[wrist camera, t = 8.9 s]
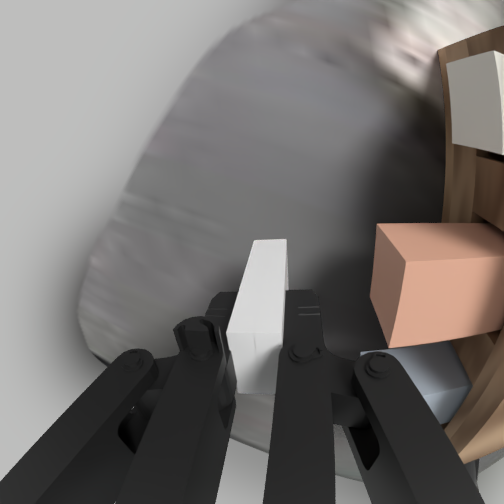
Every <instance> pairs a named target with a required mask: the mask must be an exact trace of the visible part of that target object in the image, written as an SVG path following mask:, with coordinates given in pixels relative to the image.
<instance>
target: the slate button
mask: <svg viewBox="0 0 504 504" xmlns="http://www.w3.org/2000/svg"><path fill="white" fill-rule="evenodd" d="M376 351H380V352H386V353H388V354H390V355H393V356H394V357H395V358H396V359H397V360H398V361H399V362H400V363H401V364H402V366H403V367H404V369H405V370H406V372H407V373H408V375H409V376H410V378H411V379H412V381H413V382H414V384H415V385H416V387H417V388H418V390H419V391H420V393H421V395H422V396H423V398H424V399H425V401H426V402H427V404H428V405H429V407H430V409H431V410H432V412H433V413H434V415H435V417H436V418H437V420H438V421H439V423H440V424H444V423H447V422H450V421H451V420H452V419H453V417H454V416H455V414H456V413H457V411H458V410H459V408H460V407H461V405H462V403H463V402H464V400H465V399H466V397H467V396H468V394H469V392H470V391H471V389H472V387H473V385H472V383H471V381H470V378H469V376H468V374H467V372H466V370H465V368H464V366H463V364H462V363H461V361H460V359H459V357H458V355H457V353H456V351H455V349H454V347H453V346H452V344H451V342H450V341H446V342H439V343H433V344H426V345H419V346H412V347H404V348H396V349H386V350H376ZM368 352H374V351H365V352H361V353H360V356H361V355H364V354H366V353H368Z"/></svg>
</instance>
